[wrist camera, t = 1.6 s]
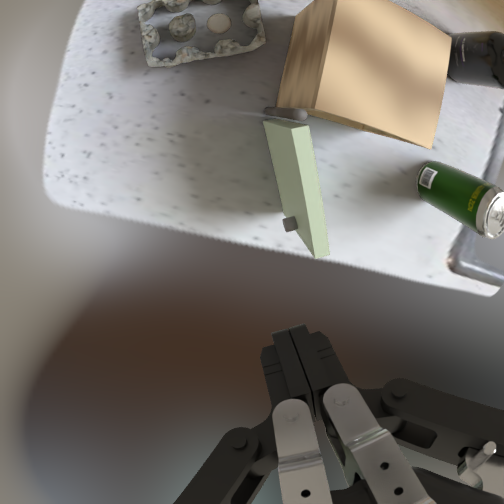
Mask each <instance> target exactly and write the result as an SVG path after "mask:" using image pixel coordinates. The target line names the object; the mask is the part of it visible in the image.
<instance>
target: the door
mask: <svg viewBox="0 0 504 504" xmlns="http://www.w3.org/2000/svg"><path fill="white" fill-rule="evenodd" d="M263 125H264V129H265V133H266V137H267V141H268V146H269V150H270V154H271V158H272V163H273V167H274V172H275V176H276V180H277V185H278V190H279V194H280V199H281V203H282V208H283V213H284V215H285V216H286V218H285V219H283V225H284V228H285V231H286V232H289V231H293V230H296V232H297V233H298V235H299V236H300V238H301V239H302V240H303V242H304V243H305V245H306V246H307V248H308V249H309V251H310V252H311V254H312V255H313V256H314V258H315V259H317V258H321V257H324V256H327V255H330V251H329V244H328V236H327V229H326V222H325V215H324V209H323V202H322V196H321V190H320V184H319V178H318V172H317V166H316V161H315V155H314V150H313V145H312V140H311V135H310V130H309V125H305V124H300V123H296V122H291V121H286V120H281V119H276V118H274V119H269V120H265V121H263Z"/></svg>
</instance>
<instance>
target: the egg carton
mask: <svg viewBox="0 0 504 504" xmlns="http://www.w3.org/2000/svg"><path fill="white" fill-rule="evenodd" d="M190 1H193V0H153V1H151V2H150V3H148V4H142V5H140V6H138V7H137V10H138V17H139V23H140V30H141V36H142V42H143V49H144V53H145V57H146V61H147V63H148V66H149V67H160V66H166V68H171V67H174V66H177V64H181V63H188V62H191V61H193V60H202V59H208V58H214V57H222V56H231V55H235V54H240V53H245V52H249V51H253V50H255V49H257V48H258V47H260V46H262V45H263V44H266V38H265V33H264V28H263V22H262V18H261V12H260V7H259V3H258V0H250V2H251V4H250V5H249V6H248V7H247V8H246V10H245V12H244V14H243V16H242V19H243V22H244V23H245V25H246V26H248V27H250V28H255V29H257V31H258V34H257V35H256V36H255V38H254V39H253V41H252V42H251V43H250V45H248V46H241V45H239V43H238V42H236V41H235V40H232V39H225V40H219V41H218V43H217V44H216V46H215V50H214V53H211V52H208V53H205V52H201V51H200V50H199V49H198V48H197V47H188V46H185V47H182V48H180V49H179V50H178V51H177V52H176V57H175V58H174V60H170V59H169V58H164V59H163V60H162V61H161V60H160V59H159V58H155V57H152V53H153V51H154V49H155V48H156V47H157V46H158V44H159V43H160V35H159V34H158V32H157V29H155V28H153V26H152V25H146V24H145V22H146V21H147V20H149V19H150V18H151V17H152V16H153V14H154V10H155V9H157V8H159V7H164V6H165V7H166V8H167V10H169V11H171V12H181V11H183V10H185V9H186V8H187V6H188V5H189V2H190ZM202 1H203V2H204V3H206V4H209V5H215V4H218V3H220V2H221V1H222V0H202ZM207 27H208V29H209V30H210V31H211V32H213V33H218V34H221V33H225V32H226V31H228V30H229V28H230V27H231V20H230V18H229V17H228V16H227V15H224V14H214V15H212V16H211V17H210V18H209V19H208V21H207ZM169 31H170V34H171V36H172V37H173V38H174V39H175V40H176V41H179V42H186V41H188V40H190V39H191V38H192V37H193V36H194V35H195V32H196V23H195V19H194V17H193V15H192V14H185V15H181V16H177V17H174V18H173V20H172V21H171V22H170V24H169ZM204 54H206V55H204Z"/></svg>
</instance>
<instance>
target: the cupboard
mask: <svg viewBox="0 0 504 504" xmlns="http://www.w3.org/2000/svg"><path fill="white" fill-rule="evenodd" d="M451 41H452V38H451V37H450V36H448V35H447V34H445V33H444V32H442V31H441V30H439V29H438V28H436V27H435V26H433V25H431V24H430V23H428V22H427V21H425V20H423V19H422V18H420V17H418V16H416V15H415V14H413V13H411V12H409V11H408V10H406V9H404V8H402V7H400V6H398V5H397V4H395V3H393V2H391V1H389V0H314V1H313V2H312V3H311V4H309V5H308V6H307V7H306V8H304V9H303V10H302V11H301V12H300V13H299V14H297V15H296V17H295V21H294V25H293V30H292V34H291V39H290V43H289V48H288V52H287V57H286V61H285V66H284V70H283V75H282V79H281V84H280V89H279V93H278V98H277V102H276V107H267V108H265V110H264V112H265V114H266V115H270V116H276V117H282V118H287V119H293V120H298V121H304V120H305V119H306V118H307V114H308V115H312V116H316V117H320V118H323V119H327V120H330V121H334V122H337V123H341V124H344V125H347V126H350V127H354V128H357V129H360V130H363V131H366V132H370V133H374V134H378V135H382V136H386V137H390V138H393V139H397V140H401V141H404V142H408V143H411V144H414V145H418V146H421V147H424V148H427V149H431V148H432V144H433V140H434V136H435V132H436V127H437V123H438V119H439V114H440V109H441V104H442V99H443V94H444V89H445V83H446V77H447V71H448V64H449V57H450V49H451ZM277 107H280V108H277Z"/></svg>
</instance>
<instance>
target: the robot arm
mask: <svg viewBox="0 0 504 504" xmlns="http://www.w3.org/2000/svg"><path fill="white" fill-rule="evenodd" d="M271 334H272V338H273V341H274V345H271V346H267V347H264V348H263V349H262V353H261V356H260V359H261V363H262V367H263V371H264V375H265V379H266V383H267V387H268V392H269V395H270V399H271V404H272V409H271V413H270V415H269V416H268V418H267V419H266V420H265V421H264V422H263V423H261V424H259V425H257V426H256V427H254V428H252V429H249V428H243V427H239V428H234V429H232V430H230V431H228V432H227V433H226V434H225V435H224V436H223V438H222V439H221V441H220V442H219V444H218V445H217V446H216V448H215V449H214V451H213V452H212V453H211V455H210V456H209V458H208V459H207V460H206V462H205V463H204V464H203V466H202V467H201V468H200V470H199V471H198V472H197V474H196V475H195V476H194V478H193V479H192V480H191V482H190V483H189V484H188V486H187V487H186V488H185V489H184V491H183V492H182V493H181V495H180V496H179V497H178V498H177V500H176V501H175V502H174V503H173V504H251V503H252V501H253V500H254V498H255V497H256V495H257V494H258V492H259V491H260V489H261V487H262V485H263V484H264V482H265V481H266V479H267V478H268V476H269V474H270V472H271V471H272V470H274V469H276V468H277V467H278V471H279V478H280V485H281V492H282V499H283V504H504V410H500V409H496V408H493V407H490V406H486V405H483V404H480V403H476V402H473V401H470V400H467V399H463V398H460V397H457V396H454V395H451V394H448V393H445V392H442V391H439V390H436V389H433V388H430V387H427V386H424V385H421V384H418V383H415V382H413V381H410V380H407V379H403V378H397V379H393V380H391V381H389V382H387V383H386V384H385V386H384V387H383V388H380V389H360V388H357V387H356V386H354V385H353V384H352V383H351V382H350V381H349V379H348V377H347V375H346V373H345V371H344V370H343V367H342V365H341V363H340V361H339V359H338V357H337V355H336V353H335V351H334V350H333V348H332V345H331V343H330V341H329V339H328V337H326V336H325V335H324V334H322V333H321V332H320V331H318V332H315V333H312V334H309V332H308V329H307V327H306V325H305V324H301V325H297V326H294V327H291V328H289V331H288V329H284V330H281V331H277V332H273V333H271ZM314 415H315V416H314ZM315 417H316V420H317V421H319V420H323V422H324V425H325V428H326V435H327V437H328V439H329V441H330V444H331V445H332V448H333V450H334V452H335V454H336V456H337V458H338V460H339V463H340V464H341V467H342V469H343V472H344V476H345V479H346V481H347V484H348V486H349V488H347V489H344V490H334V491H330V490H329V486H328V481H327V477H326V473H325V468H324V464H323V460H322V457H321V454H320V450H319V446H318V442H317V438H316V434H315V429H314V422H315ZM398 444H399V445H401V446H404V447H406V448H409V449H412V450H414V451H417V452H420V453H422V454H425V455H428V456H430V457H433V458H436V459H439V460H442V461H445V462H447V463H450V464H454V465H456V466H457V473H458V475H459V477H460V478H461V479H462V480H464V481H466V482H467V483H469V484H470V486H468V485H465V484H462V483H460V482H457V481H454V480H451V479H449V478H446V477H443V476H441V475H438V474H436V473H433V472H431V471H428V470H425V469H423V468H419V467H411V466H410V464H409V463H408V461H407V459H406V458H405V456H404V454H403V453H402V451H401V449H400V448H399V446H398Z"/></svg>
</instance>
